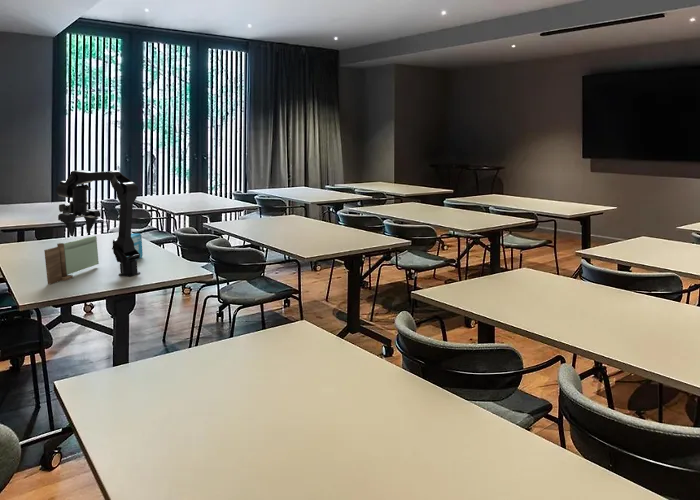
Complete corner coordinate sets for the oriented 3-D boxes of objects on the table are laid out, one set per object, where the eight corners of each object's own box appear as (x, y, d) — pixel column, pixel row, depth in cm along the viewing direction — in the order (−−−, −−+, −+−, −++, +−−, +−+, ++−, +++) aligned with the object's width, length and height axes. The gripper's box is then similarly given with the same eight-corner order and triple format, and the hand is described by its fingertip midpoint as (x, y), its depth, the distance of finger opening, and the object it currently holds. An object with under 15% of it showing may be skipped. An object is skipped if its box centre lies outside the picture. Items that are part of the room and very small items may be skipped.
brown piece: (73, 278, 239) (69, 242, 236) (54, 284, 228) (50, 247, 226) (62, 277, 240) (59, 242, 237) (43, 284, 229) (39, 247, 226)
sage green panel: (98, 263, 259) (96, 235, 257) (67, 274, 238) (64, 244, 236) (92, 263, 260) (90, 235, 257) (60, 274, 239) (57, 243, 236)
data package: (132, 262, 270) (130, 237, 267) (122, 262, 270) (121, 237, 268) (143, 257, 282) (141, 233, 279) (134, 257, 282) (132, 233, 279)
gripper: (81, 195, 259) (81, 228, 262) (47, 199, 241) (48, 235, 245) (101, 198, 255) (101, 232, 259) (68, 202, 238) (68, 239, 241)
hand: (80, 234), depth 251 cm, fingers open, 9 cm apart
